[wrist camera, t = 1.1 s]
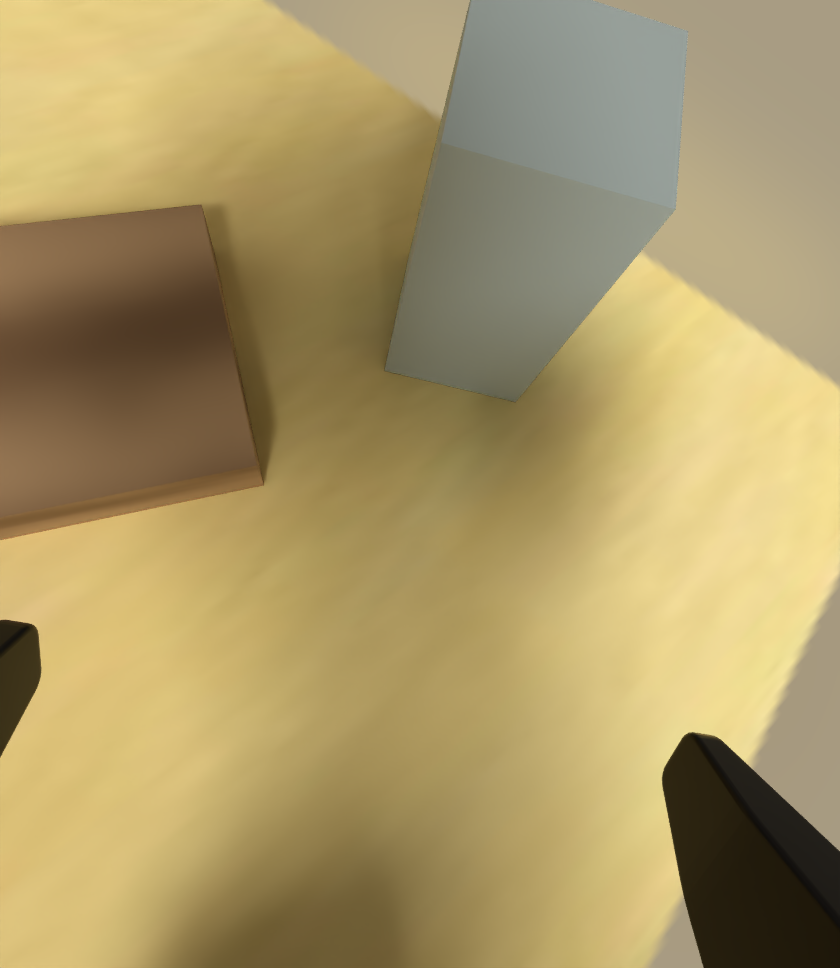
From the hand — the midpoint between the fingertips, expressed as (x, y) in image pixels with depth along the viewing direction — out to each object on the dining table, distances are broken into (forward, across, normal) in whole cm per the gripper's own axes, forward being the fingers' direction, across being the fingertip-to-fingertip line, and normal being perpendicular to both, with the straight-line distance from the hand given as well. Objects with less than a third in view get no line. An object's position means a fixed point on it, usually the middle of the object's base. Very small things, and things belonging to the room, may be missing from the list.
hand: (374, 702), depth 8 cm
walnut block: (+16, +11, +3) cm, 19 cm away
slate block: (+19, -2, -1) cm, 19 cm away
